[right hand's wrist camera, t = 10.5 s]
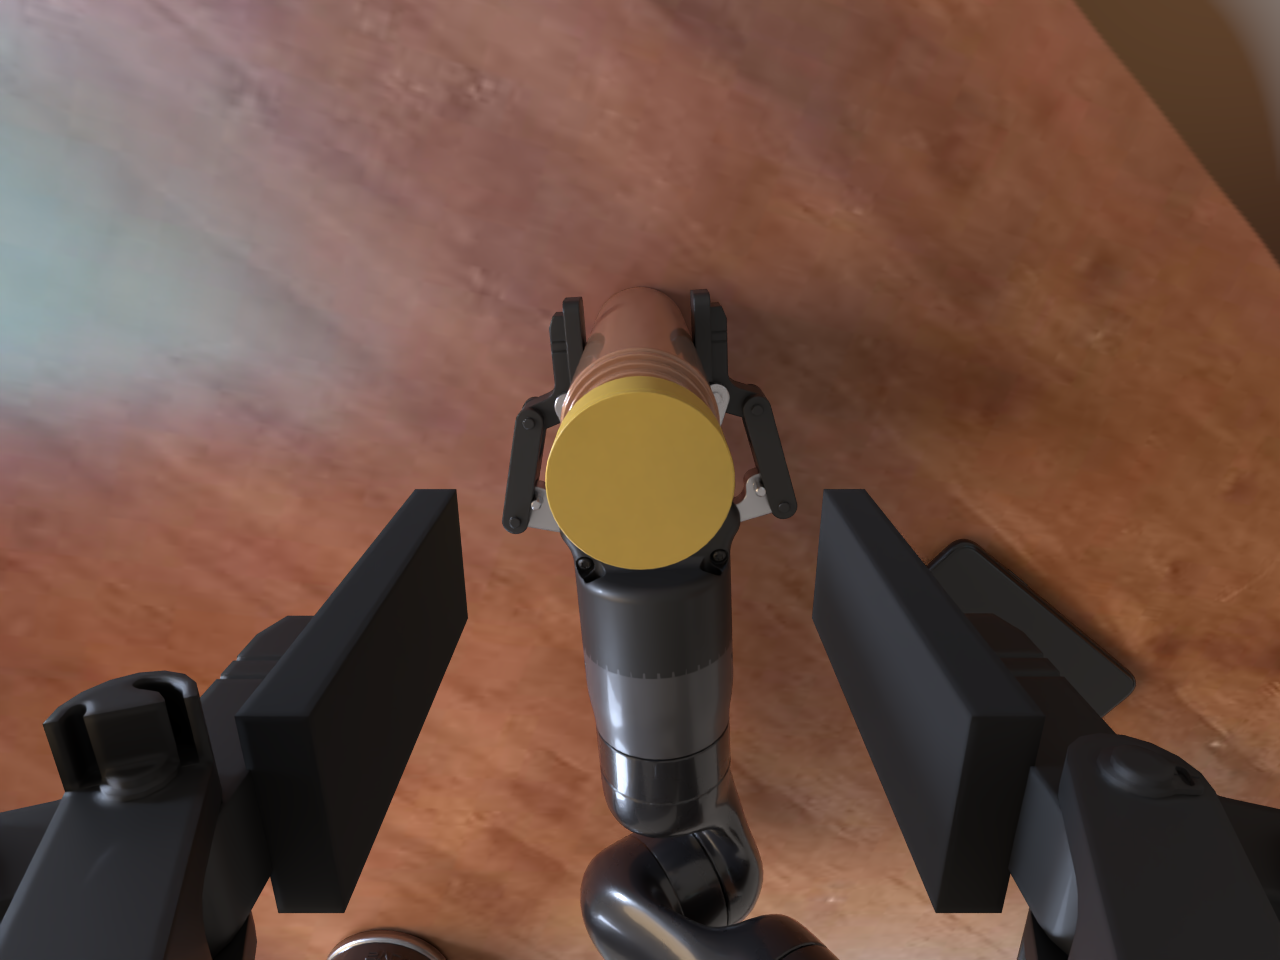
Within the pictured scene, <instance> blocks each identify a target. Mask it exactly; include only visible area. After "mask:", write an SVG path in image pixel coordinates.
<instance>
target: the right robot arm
mask: <svg viewBox="0 0 1280 960" xmlns="http://www.w3.org/2000/svg"><path fill="white" fill-rule="evenodd" d="M467 619H468V614H467V602H466V591H465V580H464V569H463V558H462V547H461V536H460V525H459V514H458V503H457V492H456V489H415V490H414V492H413V493H412V494H411V495H410V497H409V498H408V499H407V500H406V502H405V503H404V504H403V505H402V507H401V508H400V509H399V510H398V512H397V513H396V514H395V515H394V517H393V518H392V519H391V520H390V522H389V523H388V524H387V525H386V527H385V528H384V529H383V530H382V532H381V533H380V534H379V535H378V537H377V538H376V539H375V540H374V542H373V543H372V544H371V545H370V547H369V548H368V549H367V551H366V552H365V553H364V554H363V556H362V557H361V558H360V559H359V561H358V562H357V563H356V564H355V566H354V567H353V568H352V569H351V571H350V572H349V573H348V574H347V576H346V577H345V578H344V579H343V581H342V582H341V583H340V584H339V586H338V587H337V588H336V589H335V591H334V592H333V593H332V594H331V596H330V597H329V598H328V599H327V601H326V602H325V603H324V604H323V606H322V607H321V608H320V609H319V611H318V612H317V613H316V614H315V616H286V617H285V618H283V619H281V620H280V621H278V622H276V623H275V624H273V625H272V626H270V627H268V628H267V629H265V630H263V631H262V632H260V633H258V634H257V635H256V636H255V637H254V638H253V639H252V640H251V642H250V643H249V644H248V645H247V646H246V647H245V648H244V649H243V650H242V652H241V653H240V654H239V655H238V656H237V661H233V662H232V663H231V664H230V665H229V666H228V667H227V668H226V669H225V670H224V672H223V673H222V674H221V678H220V679H216V680H215V682H214V683H213V684H212V685H211V686H210V687H209V688H208V689H207V690H206V692H205V693H204V694H203V695H202V696H201V697H200V696H199V692H198V688H197V684H196V682H195V681H193V680H192V679H191V678H189V677H188V676H187V675H185V674H182V673H176V672H170V671H154V672H142V673H136V674H132V675H128V676H124V677H120V678H116V679H113V680H109V681H107V682H104V683H102V684H100V685H97V686H95V687H93V688H90V689H88V690H86V691H83V692H81V693H80V694H78V695H77V696H75V697H73V698H72V699H70V700H69V701H67V702H66V703H64V704H63V705H61V706H59V707H58V708H57V709H56V710H55V711H54V712H53V713H52V714H51V716H50V717H49V718H48V719H47V720H46V721H45V722H44V723H43V727H44V730H45V733H46V736H47V739H48V742H49V745H50V748H51V751H52V754H53V757H54V760H55V763H56V766H57V769H58V772H59V775H60V778H61V781H62V784H63V787H64V790H65V794H64V796H63V798H62V799H60V800H57V801H53V802H48V803H43V804H39V805H34V806H29V807H25V808H20V809H15V810H11V811H6V812H1V813H0V960H255V953H256V945H257V938H256V931H255V924H254V920H253V916H252V912H251V910H252V908H253V906H254V904H255V902H256V901H257V899H258V897H259V895H260V893H261V892H262V890H263V888H264V886H265V884H266V883H267V881H268V879H269V877H270V878H271V882H272V887H273V891H274V895H275V900H276V904H277V909H278V913H344V912H345V910H346V908H347V905H348V903H349V900H350V898H351V896H352V893H353V891H354V889H355V886H356V884H357V881H358V879H359V877H360V874H361V872H362V869H363V867H364V865H365V862H366V860H367V858H368V855H369V853H370V850H371V848H372V846H373V843H374V841H375V838H376V836H377V834H378V831H379V829H380V827H381V824H382V822H383V819H384V817H385V815H386V812H387V810H388V807H389V805H390V803H391V800H392V798H393V796H394V793H395V791H396V788H397V786H398V784H399V781H400V779H401V776H402V774H403V772H404V769H405V767H406V765H407V762H408V760H409V757H410V755H411V753H412V750H413V748H414V745H415V743H416V741H417V738H418V736H419V734H420V731H421V729H422V726H423V724H424V722H425V719H426V717H427V714H428V712H429V710H430V707H431V705H432V703H433V700H434V698H435V695H436V693H437V691H438V688H439V686H440V683H441V681H442V679H443V676H444V674H445V672H446V669H447V667H448V664H449V662H450V660H451V657H452V655H453V652H454V650H455V648H456V645H457V643H458V641H459V638H460V636H461V633H462V631H463V629H464V626H465V624H466V622H467ZM812 619H813V622H814V624H815V626H816V629H817V631H818V633H819V636H820V638H821V641H822V643H823V645H824V648H825V650H826V652H827V655H828V657H829V660H830V662H831V664H832V667H833V669H834V672H835V674H836V676H837V679H838V681H839V683H840V686H841V688H842V691H843V693H844V695H845V698H846V700H847V703H848V705H849V707H850V710H851V712H852V714H853V717H854V719H855V722H856V724H857V726H858V729H859V731H860V734H861V736H862V738H863V741H864V743H865V745H866V748H867V750H868V753H869V755H870V757H871V760H872V762H873V765H874V767H875V769H876V772H877V774H878V776H879V779H880V781H881V784H882V786H883V788H884V791H885V793H886V796H887V798H888V800H889V803H890V805H891V807H892V810H893V812H894V815H895V817H896V819H897V822H898V824H899V827H900V829H901V831H902V834H903V836H904V838H905V841H906V843H907V846H908V848H909V850H910V853H911V855H912V858H913V860H914V862H915V865H916V867H917V869H918V872H919V874H920V877H921V879H922V881H923V884H924V886H925V889H926V891H927V893H928V896H929V898H930V900H931V903H932V905H933V908H934V910H935V912H936V913H1002V909H1003V904H1004V900H1005V895H1006V891H1007V887H1008V882H1009V878H1010V873H1011V875H1012V877H1013V879H1014V880H1015V882H1016V884H1017V886H1018V888H1019V889H1020V891H1021V893H1022V895H1023V897H1024V898H1025V900H1026V902H1027V904H1028V906H1029V907H1030V908H1029V912H1028V916H1027V920H1026V924H1025V928H1024V932H1023V937H1022V941H1021V945H1020V949H1019V953H1018V957H1017V960H1280V809H1276V808H1272V807H1267V806H1262V805H1257V804H1253V803H1248V802H1243V801H1239V800H1234V799H1229V798H1225V797H1222V796H1218V795H1217V794H1216V792H1215V790H1214V789H1213V788H1212V787H1211V785H1210V784H1209V783H1208V781H1207V780H1206V779H1205V778H1204V776H1203V775H1202V774H1201V773H1200V772H1199V771H1198V770H1196V769H1195V768H1193V767H1192V766H1191V765H1189V764H1188V763H1187V762H1185V761H1184V760H1183V759H1181V758H1180V757H1179V756H1177V755H1175V754H1173V753H1171V752H1169V751H1167V750H1165V749H1162V748H1160V747H1158V746H1156V745H1154V744H1152V743H1149V742H1146V741H1142V740H1139V739H1136V738H1132V737H1129V736H1125V735H1117V734H1116V733H1115V732H1114V731H1113V730H1112V729H1111V728H1110V727H1109V726H1108V725H1107V723H1106V722H1105V721H1104V720H1103V719H1102V718H1101V717H1100V716H1099V715H1098V714H1097V712H1096V711H1095V710H1094V709H1093V708H1092V707H1091V706H1090V705H1089V704H1088V702H1087V701H1086V700H1085V699H1084V698H1083V697H1082V696H1081V695H1080V694H1079V693H1078V691H1077V690H1076V689H1075V688H1074V687H1073V686H1072V685H1071V684H1070V683H1069V681H1068V680H1067V679H1066V678H1065V677H1061V676H1060V672H1059V670H1058V669H1057V668H1056V667H1055V666H1054V665H1053V664H1052V663H1051V662H1050V660H1049V659H1048V658H1044V657H1043V653H1042V652H1041V651H1040V649H1039V648H1038V647H1037V646H1036V645H1035V644H1034V643H1033V642H1032V641H1031V639H1030V638H1029V637H1028V636H1027V635H1026V634H1025V633H1024V632H1023V631H1021V630H1020V629H1018V628H1016V627H1015V626H1013V625H1011V624H1010V623H1008V622H1006V621H1005V620H1003V619H1001V618H1000V617H998V616H996V615H995V614H993V613H963V612H962V611H961V609H960V608H959V607H958V606H957V604H956V603H955V602H954V601H953V599H952V598H951V597H950V596H949V594H948V593H947V592H946V591H945V589H944V588H943V587H942V586H941V584H940V583H939V582H938V581H937V579H936V578H935V577H934V576H933V574H932V573H931V572H930V571H929V569H928V568H927V567H926V566H925V564H924V563H923V562H922V561H921V559H920V558H919V557H918V556H917V554H916V553H915V552H914V551H913V549H912V548H911V547H910V545H909V544H908V543H907V542H906V540H905V539H904V538H903V537H902V535H901V534H900V533H899V532H898V530H897V529H896V528H895V527H894V525H893V524H892V523H891V522H890V520H889V519H888V518H887V517H886V515H885V514H884V513H883V512H882V510H881V509H880V508H879V507H878V505H877V504H876V503H875V502H874V500H873V499H872V498H871V497H870V495H869V494H868V493H867V492H866V490H865V489H824V492H823V503H822V514H821V525H820V536H819V547H818V558H817V569H816V580H815V591H814V602H813V614H812Z"/></svg>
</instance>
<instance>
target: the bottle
mask: <svg viewBox="0 0 1280 960" xmlns="http://www.w3.org/2000/svg"><path fill="white" fill-rule="evenodd" d="M632 376H649V377H656V378H661V379H665V380H668V381H671V382H674V383H676V384H678V385H680V386H683V387H685V388H686V389H688V390H689V391H691V392H692V393H694V394H695V395H696V396H697V397H699V398H700V399H701V400H702V401H703V402H704V403H705V404H706V405H707V406H708V407H709V409H710V410H711V411H712V413H713V414H714V416H715V417H716V419H717V421H718V423H719V425H720V416H719V410H718V405H717V402H716V399H715V396H714V394H713V391H712V389H711V386H710V384H709V381H708V378H707V376H706V373H705V371H704V368H703V366H702V363H701V361H700V358H699V356H698V353H697V351H696V348H695V346H694V343H693V341H692V338H691V336H690V333H689V331H688V328H687V326H686V323H685V321H684V318H683V316H682V314H681V311H680V310H679V308H678V307H677V305H676V304H675V303H674V302H673V301H672V300H671V299H670V298H669V297H668V296H666V295H665V294H664V293H662V292H660V291H658V290H655V289H652V288H647V287H633V288H628V289H625V290H622V291H620V292H618V293H616V294H615V295H614V296H612V297H611V298H610V299H609V300H608V301H607V302H606V303H605V304H604V305H603V306H602V308H601V310H600V311H599V314H598V316H597V318H596V321H595V323H594V326H593V328H592V331H591V333H590V336H589V338H588V341H587V343H586V346H585V349H584V351H583V354H582V356H581V359H580V361H579V364H578V366H577V369H576V371H575V374H574V376H573V379H572V382H571V384H570V387H569V389H568V392H567V394H566V397H565V400H564V403H563V406H562V411H561V418H560V425H561V423H562V421H563V419H564V418H565V416H566V415H567V413H568V412H569V410H570V409H571V408H572V407H573V406H574V404H575V403H576V402H577V401H578V400H579V399H581V398H582V397H583V396H584V395H585V394H587V393H588V392H590V391H591V390H593V389H594V388H596V387H598V386H600V385H602V384H604V383H606V382H609V381H612V380H615V379H619V378H624V377H632Z"/></svg>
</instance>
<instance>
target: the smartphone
mask: <svg viewBox="0 0 1280 960" xmlns="http://www.w3.org/2000/svg"><path fill="white" fill-rule="evenodd" d="M926 567H927V568H928V569H929V571H930V572H931V573H932V574H933V576H934V577H935V578H936V579H937V581H938V582H939V583H940V584H941V586H942V587H943V588H944V589H945V591H946V592H947V593H948V594H949V596H950V597H951V598H952V599H953V601H954V602H955V603H956V604H957V606H958V607H959V608H960V609H961V611H962V612H963V613H993V614H995V615H996V616H998V617H1000V618H1001V619H1003V620H1005V621H1006V622H1008V623H1010V624H1011V625H1013V626H1015V627H1016V628H1018V629H1020V630H1021V631H1023V632H1024V633H1025V634H1026V635H1027V636H1028V637H1029V638H1030V639H1031V641H1032V642H1033V643H1034V644H1035V645H1036V646H1037V647H1038V648H1039V649H1040V651H1041V652H1042V653H1043V657H1044V658H1048V659H1049V660H1050V662H1051V663H1052V664H1053V665H1054V666H1055V667H1056V668H1057V669H1058V670H1059V672H1060V676H1061V677H1065V678H1066V679H1067V680H1068V681H1069V683H1070V684H1071V685H1072V686H1073V687H1074V688H1075V689H1076V690H1077V691H1078V693H1079V694H1080V695H1081V696H1082V697H1083V698H1084V699H1085V700H1086V701H1087V702H1088V704H1089V705H1090V706H1091V707H1092V708H1093V709H1094V710H1095V711H1096V712H1097V714H1098V715H1099V716H1100V717H1101V718H1102V717H1103V716H1105V715H1106V714H1107V713H1108V712H1110V711H1111V710H1112V709H1113V708H1114V707H1116V706H1117V705H1118V704H1119V703H1121V702H1122V701H1123V700H1124V699H1126V698H1127V697H1128V696H1129V695H1130V694H1131V693H1132V692H1133V690H1134V689H1135V686H1136V680H1135V677H1134V676H1133V674H1132V673H1131V672H1130V671H1129V670H1128V669H1127V668H1125V667H1124V666H1123V665H1122V664H1121V663H1119V662H1118V661H1117V660H1116V659H1115V658H1113V657H1112V656H1111V655H1110V654H1109V653H1107V652H1106V651H1105V650H1104V649H1103V648H1101V647H1100V646H1099V645H1098V644H1097V643H1095V642H1094V641H1093V640H1092V639H1091V638H1089V637H1088V636H1087V635H1086V634H1085V633H1083V632H1082V631H1081V630H1080V629H1079V628H1078V627H1076V626H1075V625H1074V624H1073V623H1072V622H1070V621H1069V620H1068V619H1067V618H1066V617H1064V616H1063V615H1062V614H1061V613H1060V612H1058V611H1057V610H1056V609H1055V608H1054V607H1052V606H1051V605H1050V604H1049V603H1048V602H1046V601H1045V600H1044V599H1043V598H1042V597H1040V596H1039V595H1038V594H1037V593H1036V592H1034V591H1033V590H1032V589H1031V588H1030V587H1028V585H1027V584H1026V583H1024V582H1023V581H1022V580H1021V579H1020V578H1018V577H1017V576H1016V575H1015V574H1014V573H1013V572H1011V571H1010V570H1009V569H1007V568H1006V567H1004V566H1003V565H1002V564H1001V563H1000V562H998V561H997V560H996V559H995V558H994V557H992V556H991V555H990V554H989V553H988V552H986V551H985V550H984V549H983V548H982V547H980V546H979V545H978V544H976V543H975V542H973V541H971V540H968V539H960V540H956V541H954V542H952V543H951V544H950V545H948V546H947V547H946V548H945V549H944V550H943V551H942V552H941V553H940V554H939V555H938V556H937V557H936V558H935V559H933V560H932V561H931V562H930V563H929V564H928V565H927V566H926Z"/></svg>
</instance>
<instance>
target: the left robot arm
mask: <svg viewBox="0 0 1280 960" xmlns="http://www.w3.org/2000/svg"><path fill="white" fill-rule="evenodd" d="M690 297H691V324H692V341H693V343H694V346H695V348H696V351H697V353H698V356H699V358H700V361H701V363H702V366H703V368H704V371H705V373H706V376H707V378H708V381H709V384H710V386H711V389H712V391H713V394H714V396H715V399H716V402H717V405H718V410H719V416H720V427H721V424H722V421H723V418H724V415H725V412H726V413H729V414H733V415H736V416H740V417H742V420H743V423H744V427H745V430H746V434H747V437H748V441H749V444H750V448H751V451H752V455H753V458H754V462H755V465H756V467H755V468H752V469H750V470H748V471H747V472H746V473H745V475H744V478H743V482H744V487H743V490H742V492H741V493H740V494H739V495H738V496H736V497H734V498H733V500H732V504H731V508H730V510H729V513H728V515H727V517H726V519H725V521H724V523H723V525H722V526H721V528H720V529H719V530H718V532H717V533H716V534H715V536H714V537H713V538H712V539H711V540H710V541H709V542H708V543H707V544H706V545H705V546H704V547H702V548H701V549H700V550H699V551H697V552H696V553H694V554H693V555H691V556H689V557H688V558H686V559H684V560H681V561H679V562H677V563H674V564H671V565H668V566H665V567H660V568H654V569H642V570H639V569H626V568H620V567H616V566H612V565H609V564H606V563H603V562H601V561H599V560H597V559H595V558H593V557H591V556H589V555H588V554H586V553H584V552H583V551H582V550H581V549H579V548H578V547H577V546H575V545H574V544H573V543H572V542H571V541H570V540H569V539H568V538H567V536H566V535H565V534H564V533H563V531H562V530H561V529H560V527H559V525H558V524H557V522H556V520H555V519H554V516H553V514H552V512H551V509H550V506H549V503H548V499H547V494H546V486H545V482H544V481H539V476H540V469H541V463H542V456H543V449H544V443H545V436H546V429H547V428H549V427H552V426H554V425H556V424H559V423H560V418H561V411H562V406H563V403H564V400H565V397H566V394H567V392H568V389H569V387H570V384H571V382H572V379H573V376H574V374H575V371H576V369H577V366H578V364H579V361H580V359H581V356H582V354H583V351H584V349H585V346H586V332H585V321H584V310H583V300H582V297H570V298H565V299H564V301H563V312H556V313H555V314H554V315H553V317H552V320H551V324H550V327H549V333H550V341H551V351H552V361H553V371H554V380H555V388H554V389H553V390H552V391H551V392H549V393H547V394H544V395H542V396H540V397H531V398H529V399H528V400H527V401H526V402H525V404H524V405H523V408H522V410H521V411H520V412H519V414H518V416H517V418H516V421H515V428H514V436H513V443H512V451H511V458H510V466H509V473H508V481H507V488H506V496H505V503H504V510H503V518H502V524H503V526H504V528H505V529H506V530H507V531H508V532H510V533H513V534H519V533H522V532H524V531H525V530H526V529H527V527H532V528H538V529H544V530H549V531H555V532H560V534H561V537H562V539H563V540H564V542H565V543H566V544H567V545H568V547H569V548H570V550H571V552H572V555H573V558H574V564H575V573H576V583H577V593H578V602H579V612H580V622H581V631H582V641H583V650H584V659H585V669H586V679H587V685H588V692H589V696H590V701H591V704H592V707H593V711H594V715H595V720H596V729H597V739H598V749H599V759H600V767H601V777H602V785H603V791H604V795H605V799H606V802H607V805H608V807H609V809H610V811H611V813H612V814H613V816H614V817H615V818H616V820H617V821H618V822H619V823H620V824H621V825H623V826H624V827H625V828H627V829H628V830H630V831H631V832H634V833H632V834H630V835H628V836H626V837H624V838H622V839H620V840H619V841H617V842H615V843H613V844H612V845H610V846H608V847H607V848H605V849H603V850H602V851H601V852H600V853H599V854H597V855H596V856H595V857H594V858H593V859H592V861H591V862H590V863H589V865H588V867H587V869H586V871H585V873H584V876H583V880H582V885H581V898H580V903H581V910H582V916H583V920H584V923H585V926H586V929H587V931H588V934H589V936H590V938H591V940H592V942H593V943H594V945H595V947H596V948H597V950H598V951H599V953H600V954H601V956H602V957H603V958H604V960H839V959H838V958H837V957H836V956H835V955H834V954H833V953H832V952H831V951H830V950H829V949H828V948H827V947H826V946H825V945H824V944H823V943H822V942H821V941H820V940H819V939H818V938H817V937H816V936H814V935H813V934H812V933H811V932H810V931H809V930H808V929H807V928H806V927H804V926H803V925H802V924H800V923H799V922H798V921H796V920H794V919H793V918H791V917H788V916H785V915H781V914H769V915H762V916H758V917H755V918H751V919H748V920H745V921H743V920H744V919H745V918H746V917H747V916H748V915H749V914H750V912H751V911H752V910H753V908H754V906H755V904H756V902H757V900H758V897H759V894H760V891H761V888H762V883H763V865H762V861H761V857H760V854H759V851H758V848H757V846H756V843H755V841H754V838H753V836H752V834H751V831H750V829H749V826H748V823H747V821H746V818H745V815H744V812H743V809H742V806H741V803H740V799H739V796H738V793H737V790H736V787H735V784H734V781H733V777H732V773H731V770H730V723H729V708H730V700H731V694H732V685H733V652H732V608H731V567H730V548H731V543H732V540H733V538H734V536H735V534H736V533H737V531H738V529H739V526H740V522H741V521H745V520H748V519H752V518H755V517H759V516H762V515H765V514H769V513H773V515H774V516H775V517H777V518H780V519H787V518H789V517H791V516H793V515H794V513H795V512H796V510H797V502H796V498H795V494H794V490H793V487H792V483H791V479H790V476H789V472H788V468H787V464H786V461H785V457H784V453H783V450H782V446H781V442H780V438H779V435H778V431H777V427H776V424H775V420H774V416H773V412H772V409H771V405H770V403H769V401H768V400H767V398H766V397H765V395H764V394H763V392H762V391H761V389H760V388H759V387H758V386H756V385H753V384H743V383H740V382H736V381H734V380H732V379H731V378H729V376H728V359H727V318H726V315H725V313H724V311H723V308H722V306H721V305H720V304H719V303H718V302H714V303H710V294H709V291H708V290H707V289H700V290H691V292H690ZM742 921H743V922H742ZM327 960H446V959H445V957H444V956H443V955H442V954H441V953H440V952H439V951H438V950H437V949H436V948H435V947H433V946H432V945H431V944H429V943H427V942H426V941H424V940H422V939H420V938H418V937H415V936H413V935H410V934H406V933H402V932H397V931H389V930H374V931H367V932H362V933H358V934H355V935H353V936H350V937H348V938H346V939H344V940H343V941H341V942H340V943H339V944H337V945H336V946H335V947H334V948H333V950H332V951H331V952H330V954H329V956H328V958H327Z"/></svg>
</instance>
